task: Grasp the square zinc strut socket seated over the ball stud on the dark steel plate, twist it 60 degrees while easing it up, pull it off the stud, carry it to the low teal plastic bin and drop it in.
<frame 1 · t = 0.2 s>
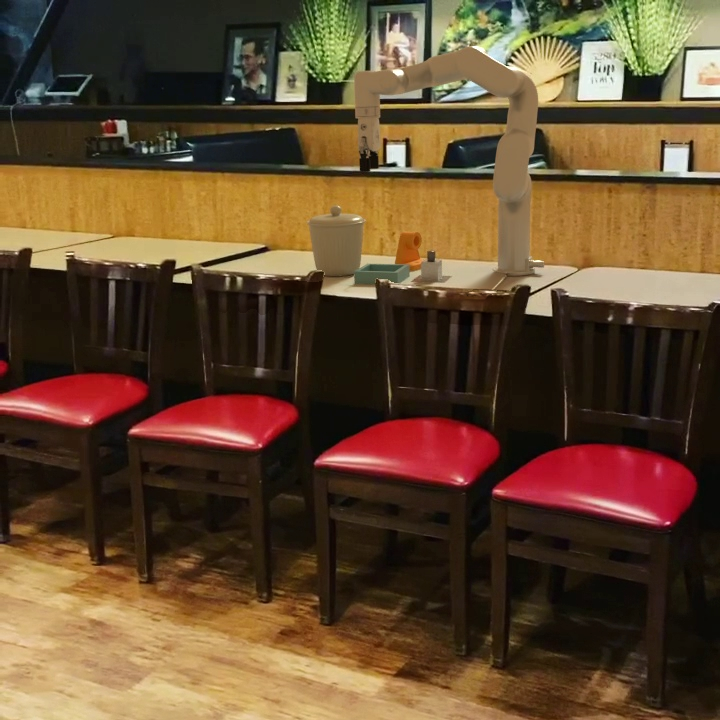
hand: (369, 170, 322), 31 cm above the table, tool pointing down, fingers open, 9 cm apart
canister: (338, 274, 325), on the table
strut socket: (431, 278, 307), point 1 cm above the table, touching stud mount
stud mount: (431, 282, 307), on the table
bracket: (414, 271, 327), on the table
bin: (382, 283, 308), on the table
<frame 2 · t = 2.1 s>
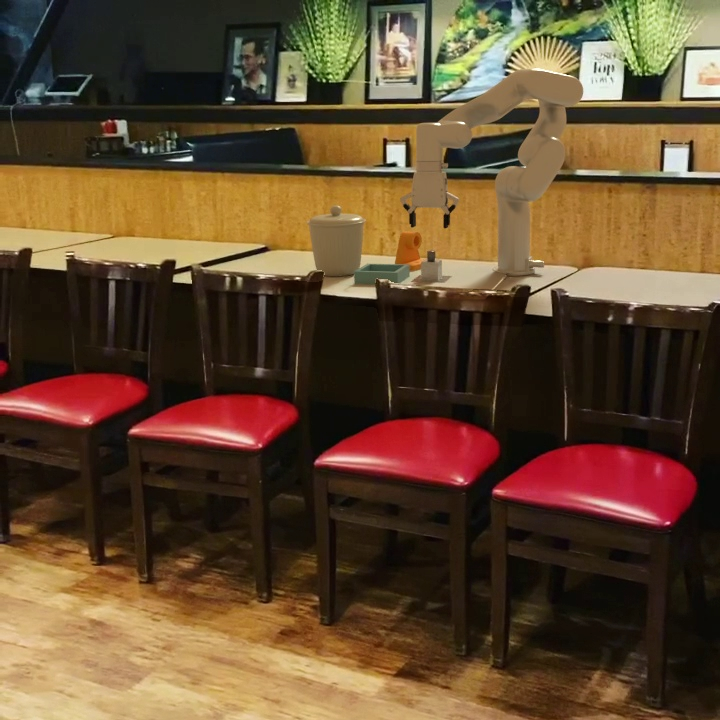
hand: (429, 227, 303), 16 cm above the table, tool pointing down, fingers open, 9 cm apart
nothing on the table moved.
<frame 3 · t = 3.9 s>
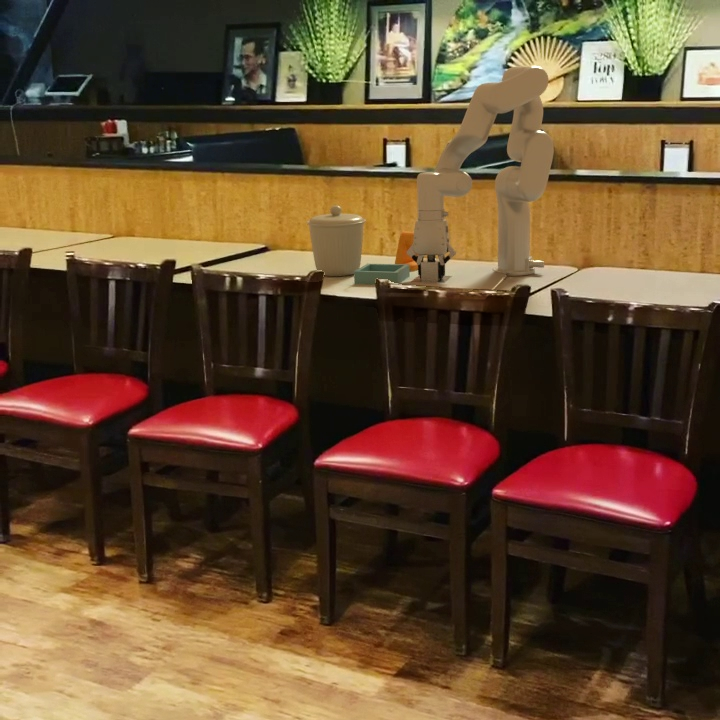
hand: (431, 277, 307), 1 cm above the table, tool pointing down, fingers closed on strut socket, 5 cm apart
strut socket: (431, 278, 307), point 1 cm above the table, touching gripper, stud mount
everything else where it was.
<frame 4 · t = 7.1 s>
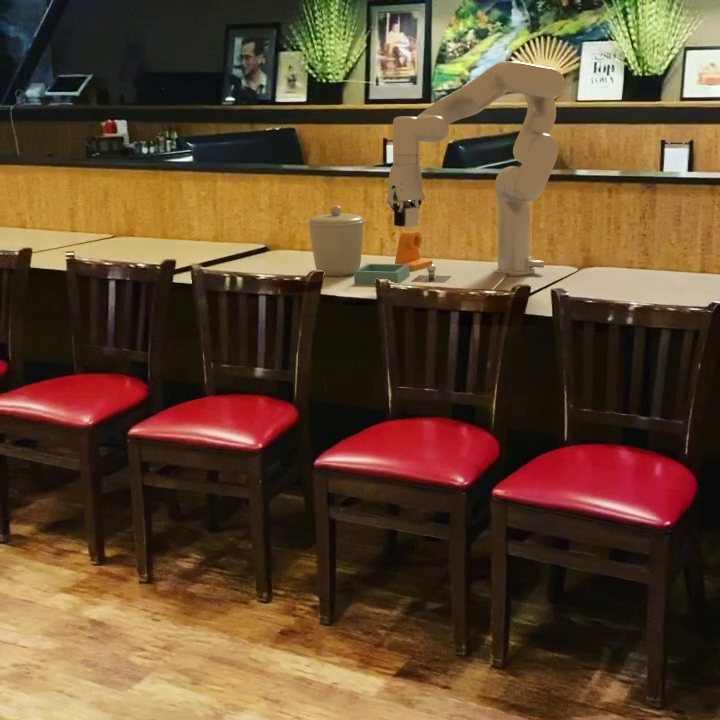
hand: (405, 224, 303), 17 cm above the table, tool pointing down, fingers closed on strut socket, 5 cm apart
strut socket: (406, 225, 303), point 17 cm above the table, touching gripper
everything else where it was.
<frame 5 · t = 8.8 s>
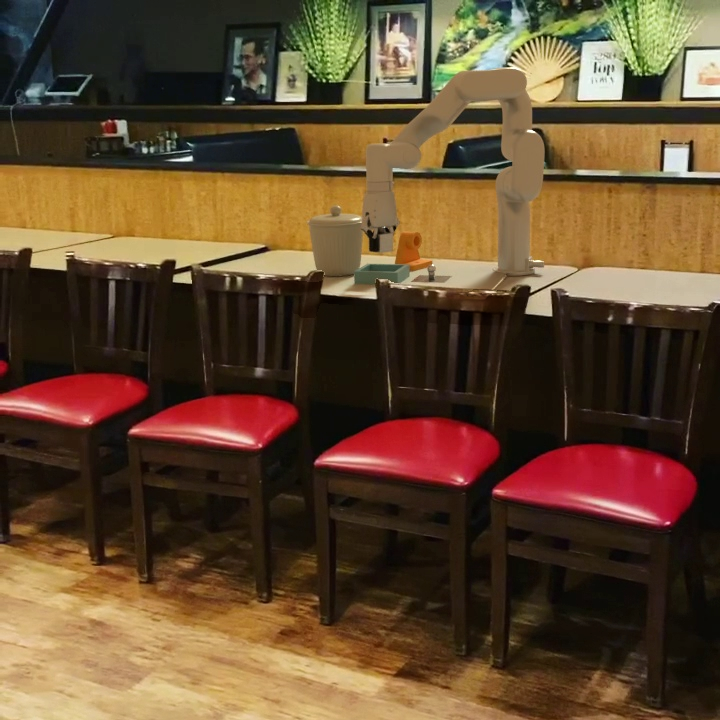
hand: (380, 249, 306), 10 cm above the table, tool pointing down, fingers closed on strut socket, 5 cm apart
strut socket: (380, 251, 306), point 9 cm above the table, touching gripper
everything else where it was.
when the fingers open (4 cm above the table, at t = 10.2 s): strut socket drops 3 cm, resting on bin.
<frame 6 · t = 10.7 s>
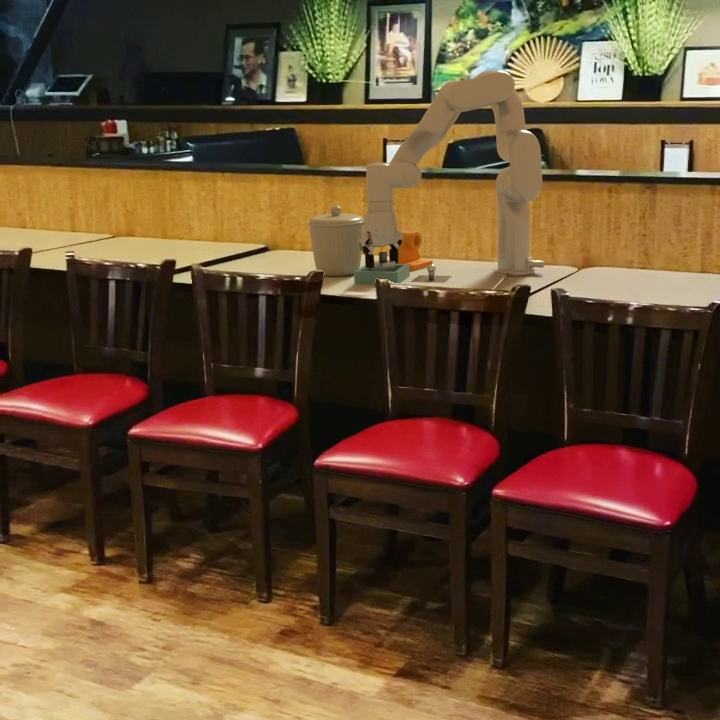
hand: (382, 265, 307), 5 cm above the table, tool pointing down, fingers open, 9 cm apart
strut socket: (383, 279, 308), point 1 cm above the table, touching bin
everything else where it was.
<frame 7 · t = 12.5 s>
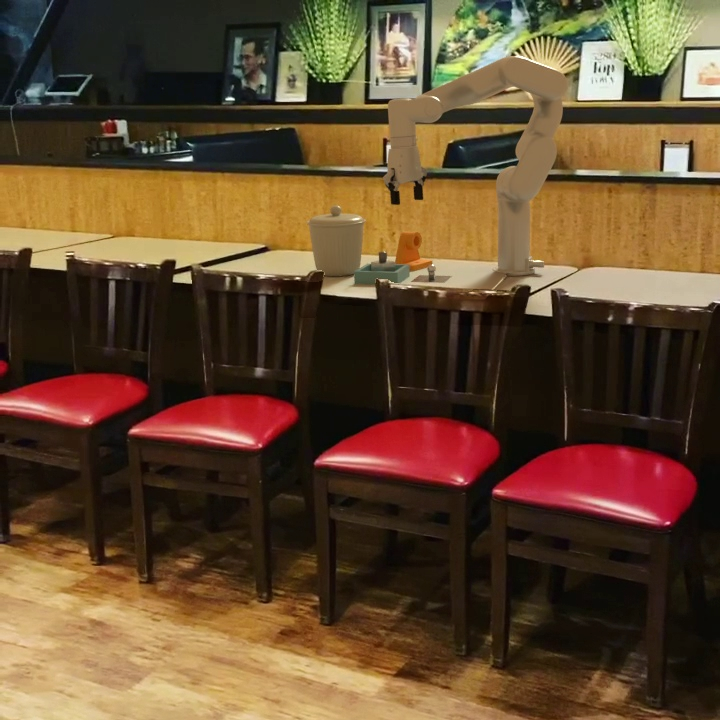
hand: (407, 202, 307), 23 cm above the table, tool pointing down, fingers open, 9 cm apart
nothing on the table moved.
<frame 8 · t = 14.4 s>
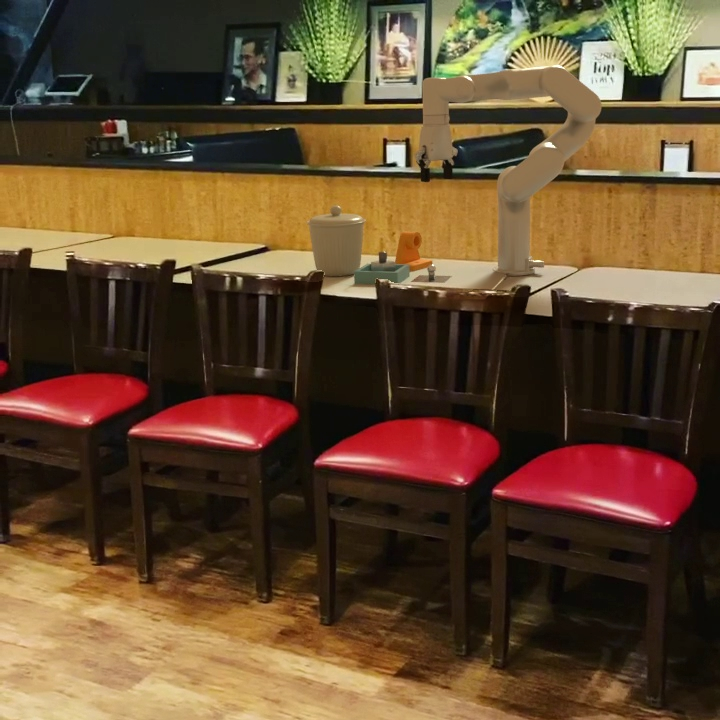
hand: (436, 180, 311), 28 cm above the table, tool pointing down, fingers open, 9 cm apart
nothing on the table moved.
at the end: strut socket inside the target area on the bin (0.4 cm from its centre), point 1.0 cm above the bin's base; the gripper is holding nothing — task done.
